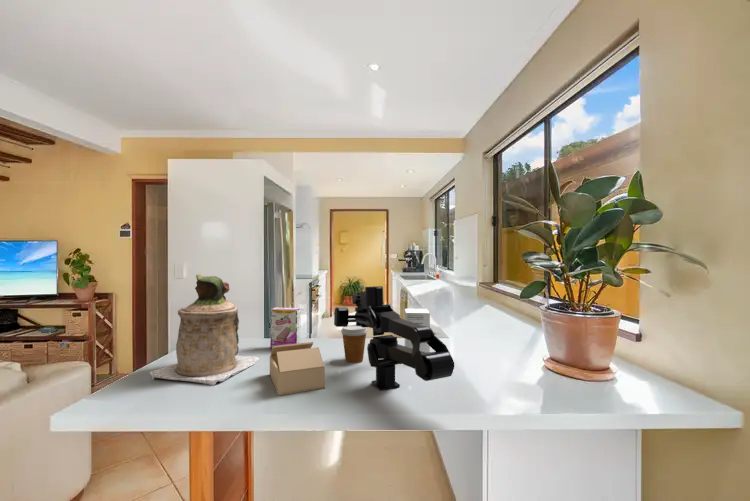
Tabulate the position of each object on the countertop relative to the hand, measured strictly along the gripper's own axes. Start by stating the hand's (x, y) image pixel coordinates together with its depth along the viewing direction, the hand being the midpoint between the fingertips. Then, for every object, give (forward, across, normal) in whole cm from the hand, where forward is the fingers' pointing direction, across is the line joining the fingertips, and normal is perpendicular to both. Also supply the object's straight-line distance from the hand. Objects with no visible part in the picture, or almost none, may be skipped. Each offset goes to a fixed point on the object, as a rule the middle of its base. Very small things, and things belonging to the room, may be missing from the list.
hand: (351, 314), depth 127 cm
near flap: (-16, +22, +11) cm, 30 cm away
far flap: (-3, +22, +10) cm, 24 cm away
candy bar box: (+29, +16, +16) cm, 37 cm away
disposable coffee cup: (+2, -2, +17) cm, 17 cm away
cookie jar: (+14, +45, +19) cm, 51 cm away
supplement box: (-1, -27, +16) cm, 31 cm away
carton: (-9, +22, +19) cm, 30 cm away
